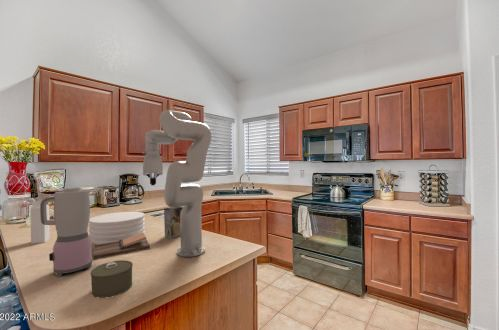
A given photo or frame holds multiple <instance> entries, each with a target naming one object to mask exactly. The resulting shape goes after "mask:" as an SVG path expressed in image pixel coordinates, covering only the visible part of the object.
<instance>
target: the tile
mask: <svg viewBox="0 0 499 330" xmlns="http://www.w3.org/2000/svg"><path fill="white" fill-rule="evenodd" d="M145 239H146V240H147V237H146V234H144V233H143V232H142V233H140V234H137V235H134V236H131V237H129V238H126V239H123V241H122V240H121V241H120V243H121V246H125V247H127V246H129V245H132V244H134V243H137V242H140V241H142V240H145ZM123 244H124V245H123Z"/></svg>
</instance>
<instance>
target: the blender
mask: <svg viewBox="0 0 499 330" xmlns="http://www.w3.org/2000/svg"><path fill="white" fill-rule="evenodd" d="M91 192H92V190H87V189H81V187H79V186H77V187H65V188H63V191H56V192H54V193H53V194H54V195H53V196H49V197H46V198H44V199H42V200H41V201H42V202H41V204H40V216H41V223H42V224H44V225H49V226H53V225H54V226H55V231H56V235H57V237H56V240H55V242H54V245H53V246H52V252H51V253H49V254H48V257H49V258H48V260H49V261H50V262H51V261H52V262H53V263H52V264H53V273H55V275H56V277H62V276H64V275H63V274H69V273H73V272H77V271H81V270H83V269H87V270H90V269H91V268H92V265H93V255H92V253H93V249H92V245H93V243H92V242H91V239H90V237H89V233H88V232H89V229H88V228H89V224H90V223H89V219H91V218H90V216H91V215H90V214H91V210H90V209H91V207H90V206H91V203H90V202H91V201H90V193H91ZM52 202H53V219H51V220H50V219H49V220H47V212H46V204H48V203H52Z"/></svg>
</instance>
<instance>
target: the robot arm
mask: <svg viewBox="0 0 499 330" xmlns="http://www.w3.org/2000/svg"><path fill="white" fill-rule="evenodd" d="M159 125H160V126H161V128H162V130H159V129H151V130H149V131H146V132H145V134H144V135H145V137H144V138H145V139H144V143H145V145H144V146H145V150H144V151H142V154H144V157H143V163H142V165H143V166H142V171H143V172H142V175H143V176H146V177H148V178H149V185H151V186H156V184H157V178H158V177H159V176H162V175H163V171H164V169H163V160H162V159H163V158H162V156H161V155H160V145H172V144H175V143H176V142H177V141H178V140H180V141H181V140H182V141H194V142H192V143H191V144H190V146H189V148H188V149H187V153H186V156H185V157H186V159H185V160H177V161H173V162H171V163H170V164H169V166H168V167H167V172H166V177H165V185H164V192H163V193H164V194H163V195H164V196H163V198H164V203H165V205H166V206H167V207H168V208H171V207H183V209H182V211H181V214H180V233H181V235H180V248H179V249H177V251H176V253H177V255H178V256H180V257H183V258H192V257H198V256H201V255H203V254H204V253H206V247H205V246H204V245H203V239H202V236H203V235H202V234H203V233H202V228H203V227H202V206H203V198H204V189H203V187H202V186H201V185H200V184H197V182H198V183H199V182H200V181H201V180H202V179H203V177H204V172H205V167H206V161H207V160H206V159H207V154H208V151H209V147H210V145H211V142H212V131H211V129H210V127H209V126H208V125H207V124H206V123H202V122H198V121H193V120H192V117H191V116H190V115H189V114H188V113H186V112H183V111H179V110H178V111H177V110H172V109H165V110H163V111H162V112H161V113H160V116H159Z"/></svg>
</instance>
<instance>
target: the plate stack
mask: <svg viewBox="0 0 499 330" xmlns="http://www.w3.org/2000/svg"><path fill="white" fill-rule="evenodd" d="M145 215H146V214H145V213H144V212H142V211H123V212H122V211H120V212H113V213H105V214H100V215H97V216H93V217H91V218H89V225H88V228H89V229H88V232H89V233H88V235H89V237H90V239H91V242H92V245H93V244H94V245H100V244H106V243H112V242H118V241H119V240H122V239H126V238H129V237H131V236H134V235H137V234H140V233H142V232H143V233H144V235H146V231H145V230H146V227H145V226H146V223H145V222H146V219H145V217H146V216H145Z"/></svg>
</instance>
